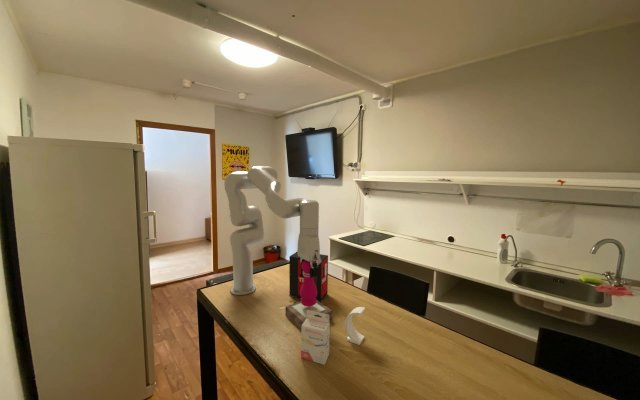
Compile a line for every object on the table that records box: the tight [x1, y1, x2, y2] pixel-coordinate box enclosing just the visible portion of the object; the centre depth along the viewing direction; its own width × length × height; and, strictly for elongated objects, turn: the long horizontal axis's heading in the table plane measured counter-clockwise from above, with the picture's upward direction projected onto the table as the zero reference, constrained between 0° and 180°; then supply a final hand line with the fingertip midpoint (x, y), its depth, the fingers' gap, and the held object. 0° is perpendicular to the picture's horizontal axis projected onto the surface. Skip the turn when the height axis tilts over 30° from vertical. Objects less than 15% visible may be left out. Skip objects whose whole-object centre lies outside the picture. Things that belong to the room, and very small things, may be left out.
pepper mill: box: [300, 260, 317, 306], centre depth 105 cm, size 7×7×20 cm
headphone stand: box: [344, 306, 366, 346], centre depth 94 cm, size 5×6×12 cm
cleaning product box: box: [288, 251, 329, 303], centre depth 126 cm, size 16×9×20 cm, turn 68°
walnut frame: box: [285, 300, 333, 330], centre depth 107 cm, size 14×14×4 cm
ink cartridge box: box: [300, 310, 331, 366], centre depth 84 cm, size 9×5×15 cm, turn 71°
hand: (308, 273), depth 105 cm, fingers closed on pepper mill, 6 cm apart
